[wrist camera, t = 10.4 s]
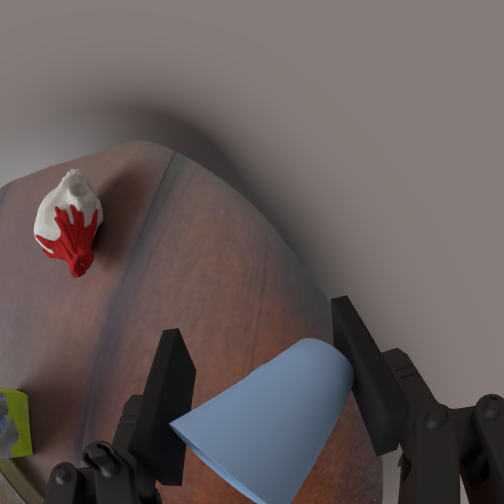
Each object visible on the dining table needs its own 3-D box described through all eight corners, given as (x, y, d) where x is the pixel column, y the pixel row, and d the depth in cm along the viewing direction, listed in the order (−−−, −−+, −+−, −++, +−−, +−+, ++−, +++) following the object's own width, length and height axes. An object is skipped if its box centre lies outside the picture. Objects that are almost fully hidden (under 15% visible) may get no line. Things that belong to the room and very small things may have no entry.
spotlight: (267, 470, 14) (350, 385, 15) (248, 563, 5) (428, 394, 6) (205, 416, 15) (286, 332, 17) (118, 453, 6) (290, 281, 8)
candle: (97, 182, 43) (133, 255, 39) (47, 222, 41) (75, 298, 38) (70, 152, 34) (104, 232, 31) (15, 200, 33) (38, 286, 29)
